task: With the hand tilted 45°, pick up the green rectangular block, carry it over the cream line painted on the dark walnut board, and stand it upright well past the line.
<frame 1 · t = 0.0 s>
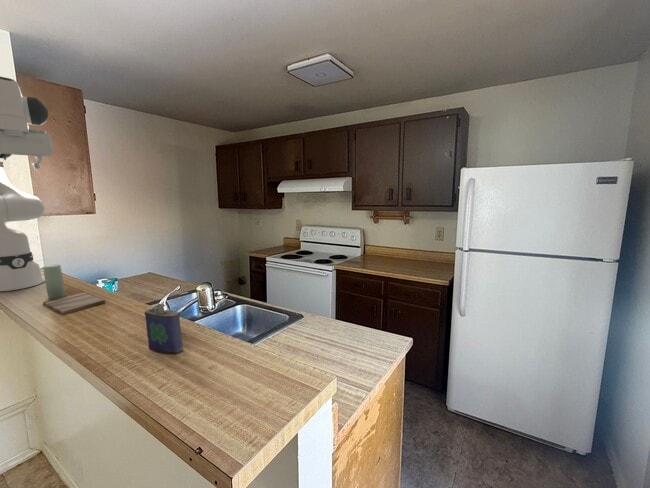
hand: (19, 167, 109), 48 cm above the table, fingers open, 8 cm apart
green rectangular block: (57, 296, 118), on the table
mushroom: (162, 331, 85), on the table
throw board: (74, 303, 109), on the table
flask: (165, 350, 74), on the table
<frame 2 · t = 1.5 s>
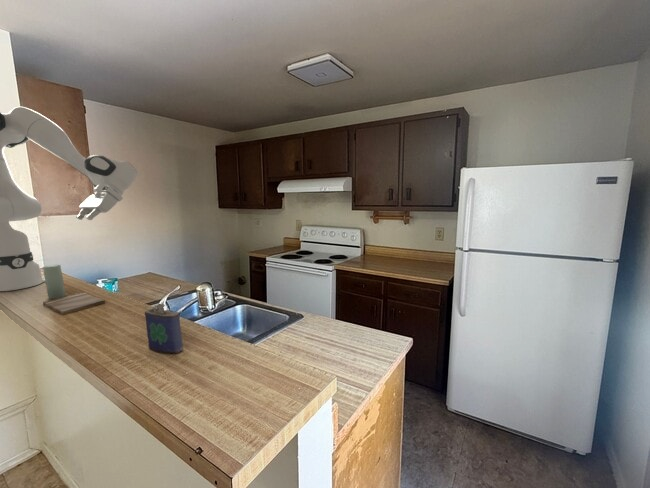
hand: (83, 219, 123), 29 cm above the table, fingers open, 8 cm apart
nothing on the table moved.
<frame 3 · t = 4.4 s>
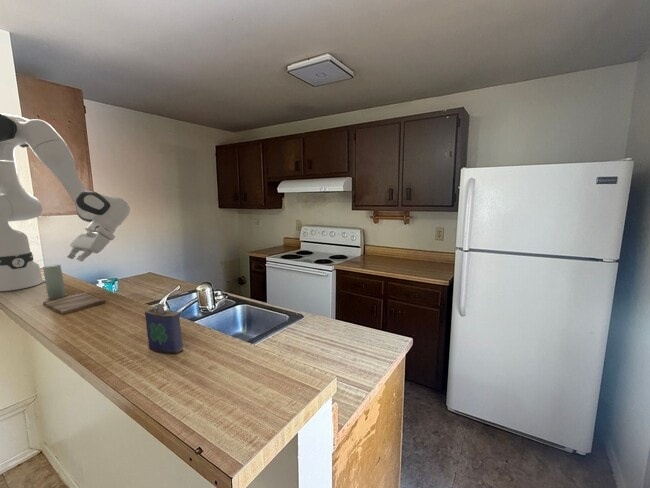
hand: (74, 259, 121), 13 cm above the table, fingers open, 8 cm apart
nothing on the table moved.
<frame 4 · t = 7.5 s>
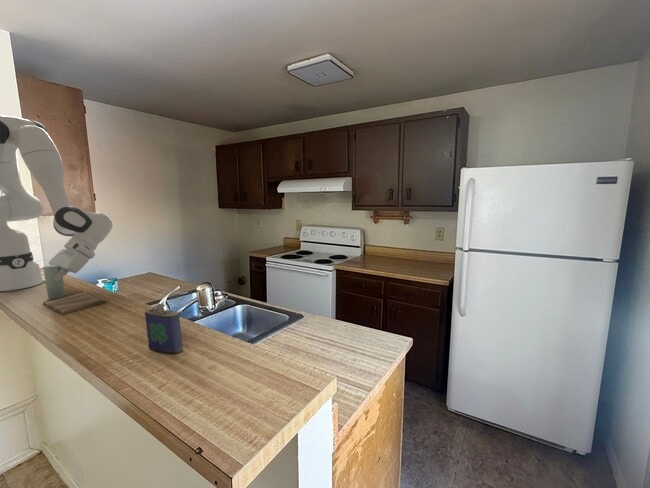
hand: (51, 279, 116), 7 cm above the table, fingers closed on green rectangular block, 5 cm apart
green rectangular block: (57, 296, 118), on the table, touching gripper
everything else where it was.
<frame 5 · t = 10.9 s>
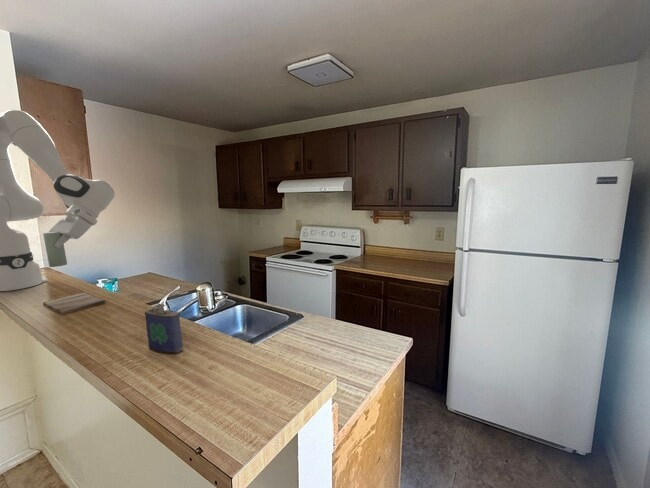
hand: (52, 246, 111), 20 cm above the table, fingers closed on green rectangular block, 5 cm apart
green rectangular block: (58, 265, 112), point 13 cm above the table, touching gripper
everything else where it was.
when the fingers open (10 cm above the table, at t = 14.1 s): green rectangular block drops 1 cm, resting on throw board.
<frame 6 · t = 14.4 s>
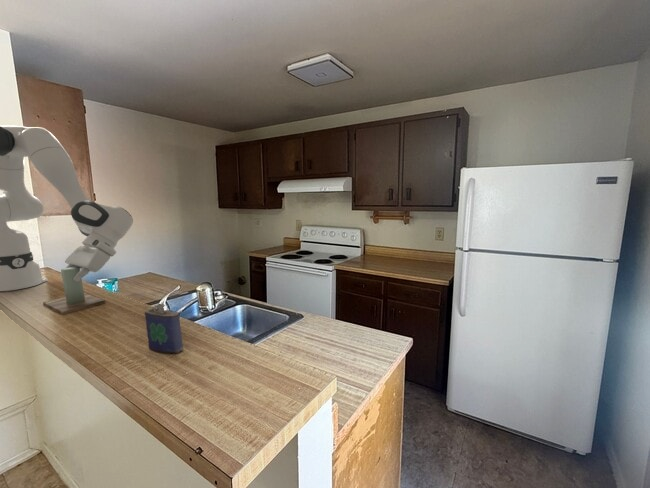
hand: (69, 278, 106), 10 cm above the table, fingers open, 8 cm apart
green rectangular block: (76, 302, 108), point 1 cm above the table, touching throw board
everything else where it was.
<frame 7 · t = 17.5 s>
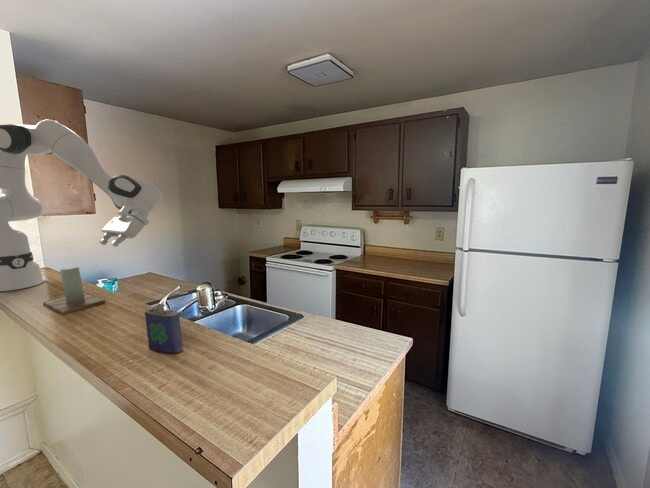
hand: (107, 244, 115), 19 cm above the table, fingers open, 8 cm apart
nothing on the table moved.
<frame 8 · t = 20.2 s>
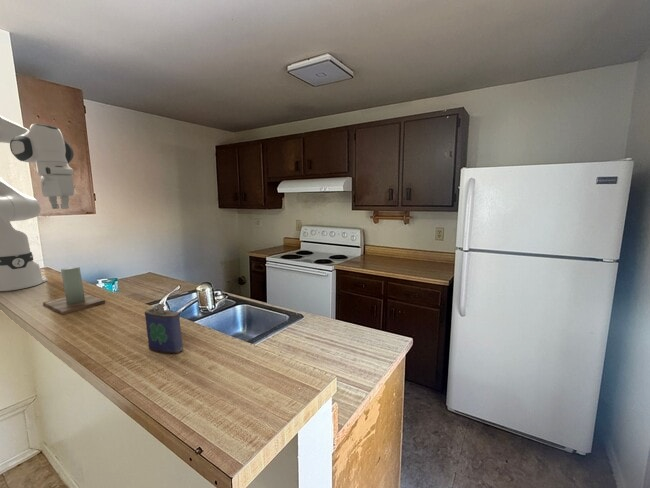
hand: (60, 208, 115), 33 cm above the table, fingers open, 8 cm apart
nothing on the table moved.
at the end: green rectangular block inside the target area (0.9 cm from its centre), point 1.0 cm above the table; green rectangular block tilted 1°; the gripper is holding nothing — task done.
